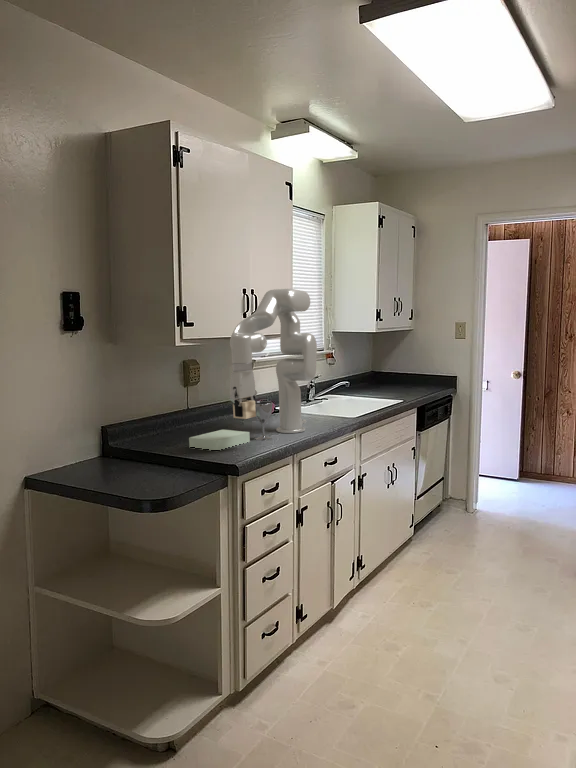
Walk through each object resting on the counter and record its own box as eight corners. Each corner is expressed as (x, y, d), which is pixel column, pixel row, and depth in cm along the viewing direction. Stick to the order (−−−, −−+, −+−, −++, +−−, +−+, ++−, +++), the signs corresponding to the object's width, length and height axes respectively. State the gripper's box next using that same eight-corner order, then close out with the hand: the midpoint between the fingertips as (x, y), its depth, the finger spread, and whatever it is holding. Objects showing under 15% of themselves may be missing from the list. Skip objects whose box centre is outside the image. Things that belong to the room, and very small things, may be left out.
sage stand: (222, 438, 258) (222, 429, 258) (249, 441, 250) (249, 432, 250) (189, 447, 242) (189, 437, 241) (217, 451, 234) (216, 440, 233)
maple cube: (243, 415, 240) (242, 399, 239) (255, 416, 236) (255, 400, 236) (233, 417, 235) (232, 402, 234) (246, 419, 232) (245, 403, 231)
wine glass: (249, 439, 256) (248, 402, 255) (264, 436, 262) (263, 400, 260) (262, 441, 251) (261, 404, 249) (277, 438, 256) (276, 402, 255)
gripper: (248, 365, 243) (250, 410, 245) (219, 369, 228) (222, 418, 231) (264, 365, 238) (266, 412, 241) (235, 370, 224) (238, 419, 226)
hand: (244, 414), depth 236 cm, fingers closed on maple cube, 6 cm apart
